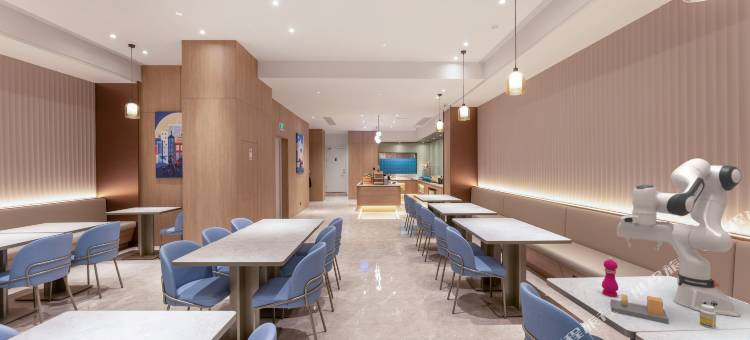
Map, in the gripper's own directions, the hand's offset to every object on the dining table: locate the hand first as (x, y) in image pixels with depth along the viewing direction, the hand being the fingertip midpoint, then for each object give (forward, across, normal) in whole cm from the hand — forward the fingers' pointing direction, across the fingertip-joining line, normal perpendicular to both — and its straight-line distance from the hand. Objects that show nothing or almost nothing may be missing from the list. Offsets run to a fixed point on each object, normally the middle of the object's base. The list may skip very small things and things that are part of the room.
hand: (643, 249), depth 152 cm
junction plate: (+30, +2, +3) cm, 30 cm away
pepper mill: (+30, +12, -16) cm, 36 cm away
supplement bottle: (+30, -22, 0) cm, 37 cm away
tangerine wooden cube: (+28, -4, +3) cm, 28 cm away
